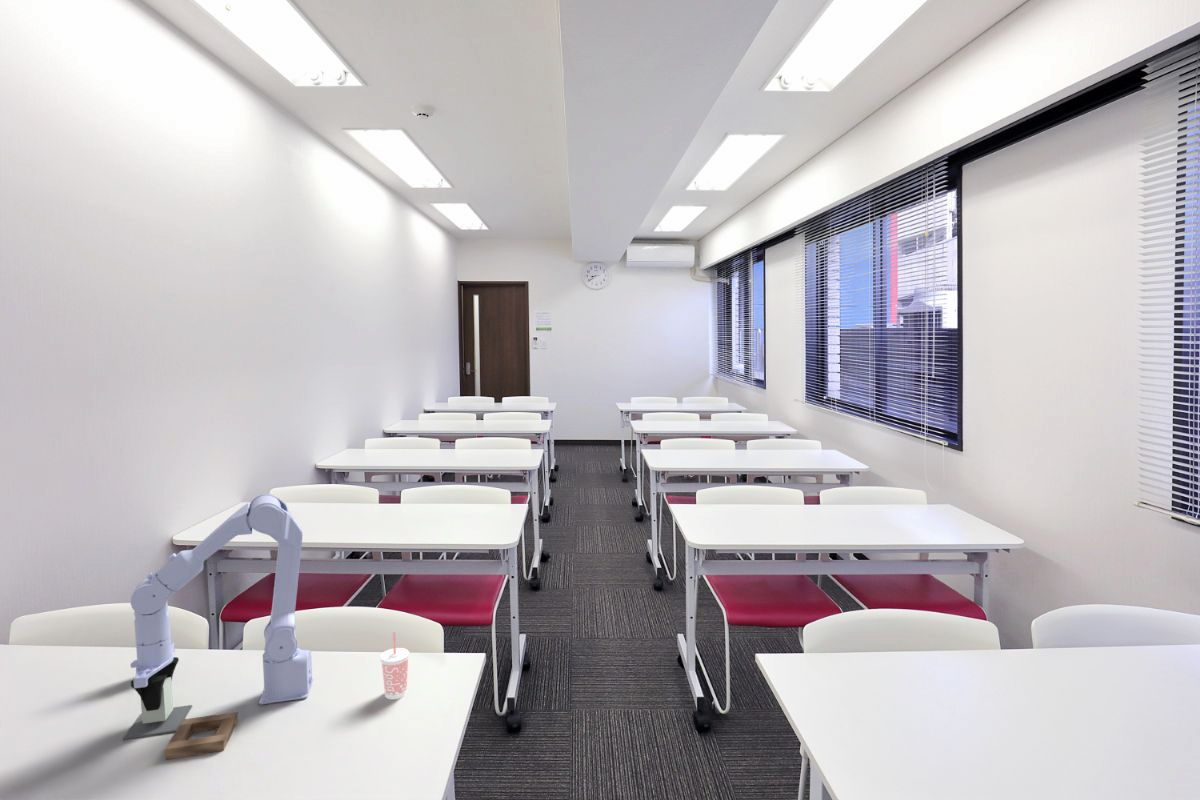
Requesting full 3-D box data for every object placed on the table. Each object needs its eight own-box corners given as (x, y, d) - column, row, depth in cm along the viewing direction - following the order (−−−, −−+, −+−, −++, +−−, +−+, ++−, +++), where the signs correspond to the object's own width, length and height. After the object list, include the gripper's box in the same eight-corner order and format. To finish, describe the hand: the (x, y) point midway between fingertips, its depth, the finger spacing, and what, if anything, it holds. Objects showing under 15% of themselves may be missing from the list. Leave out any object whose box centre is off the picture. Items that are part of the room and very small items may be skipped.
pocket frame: (238, 720, 127) (237, 711, 127) (223, 750, 118) (223, 740, 118) (184, 728, 125) (183, 719, 124) (165, 759, 115) (164, 749, 115)
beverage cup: (375, 697, 136) (373, 636, 134) (394, 683, 141) (392, 624, 140) (397, 703, 133) (395, 641, 132) (416, 689, 139) (414, 629, 138)
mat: (192, 706, 132) (191, 704, 132) (176, 732, 123) (176, 730, 123) (142, 713, 130) (142, 711, 130) (123, 739, 121) (122, 738, 121)
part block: (173, 709, 129) (171, 677, 128) (165, 720, 125) (163, 687, 124) (150, 712, 128) (148, 679, 127) (142, 723, 124) (140, 690, 123)
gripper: (145, 625, 131) (149, 686, 132) (113, 659, 117) (118, 727, 118) (184, 621, 133) (187, 682, 134) (156, 654, 119) (160, 721, 120)
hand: (157, 703), depth 126 cm, fingers closed on part block, 4 cm apart
